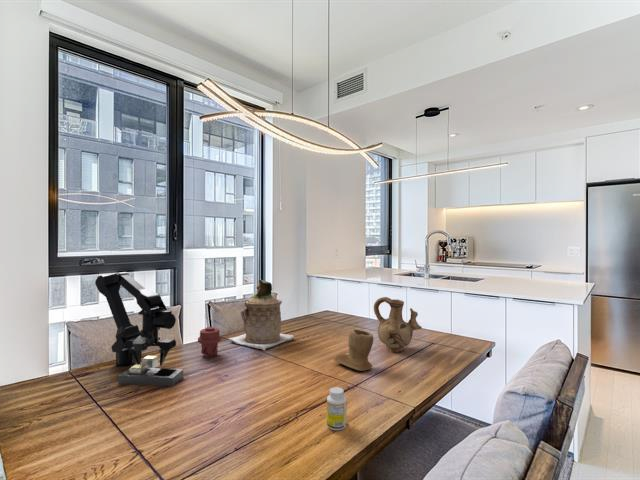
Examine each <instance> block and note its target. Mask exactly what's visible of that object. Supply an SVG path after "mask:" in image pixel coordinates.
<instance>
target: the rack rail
mask: <svg viewBox="0 0 640 480" xmlns="http://www.w3.org/2000/svg"><path fill="white" fill-rule="evenodd" d="M117 377H118V378H117V380H118V382H117V383H118V385H132V386H133V385H134V386H150V387H151V386H155V387H156V386H157V387H174V386H175V385H176V384H177V383H178V382H180V381H181V380H182V379H183V378H184V368H168V367H167V368H166V367H164V368H163V367H157V368H147V372H146V373H144V374H143V375H130V368H129V369H127V370H124V371H123V372H122V373H120V374H119V375H118V376H117Z"/></svg>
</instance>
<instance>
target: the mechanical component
mask: <svg viewBox="0 0 640 480" xmlns="http://www.w3.org/2000/svg"><path fill="white" fill-rule="evenodd" d="M221 341H222V336H221V334H220V329H219V328H216V327H214V326H207V327H205V328H203V329H201V330H200V331H199V337H197V343H199V344H201V349H200V350H201V352H200V353H201V354H202V355H204V358H206V359H208V358H210V357H213V356H217V355H218V349H219V348H218V347H219V342H221Z"/></svg>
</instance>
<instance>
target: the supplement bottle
mask: <svg viewBox="0 0 640 480" xmlns="http://www.w3.org/2000/svg"><path fill="white" fill-rule="evenodd" d="M326 426H327V428H329V429H330V430H333V431H342V430H344V429H345V428H346V426H347V397H346V395H345V392H344V389H343V388H341V387H339V386H338V387H336V386H335V387H332V388H330V389H329V394H328V396H327V397H326Z"/></svg>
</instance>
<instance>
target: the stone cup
mask: <svg viewBox="0 0 640 480" xmlns="http://www.w3.org/2000/svg"><path fill="white" fill-rule="evenodd" d="M347 342H348V351H349V352H348V353H349V354H346V353H344V354H343V353H342V354H338V355H336V356H335V357H334V359H333V360H334V361H335V362H336V363H338V364H340V365H343V366H345V367H348V368H350V369H353V370H355V371H359V372H364V371H365V372H366V371H369V370H371V369H372V368H373V364H372V363H371V362H370V361H369V360H368V358H369V355H370V353H371V350H372V348H373V345H374V344H373V343H374V335H373V334H372V333H371V332H369V331H365V330H361V329H357V328H356V329H355V328H354V329H351V330H350V331H349V333H348V341H347ZM334 361H333V362H334Z"/></svg>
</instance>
